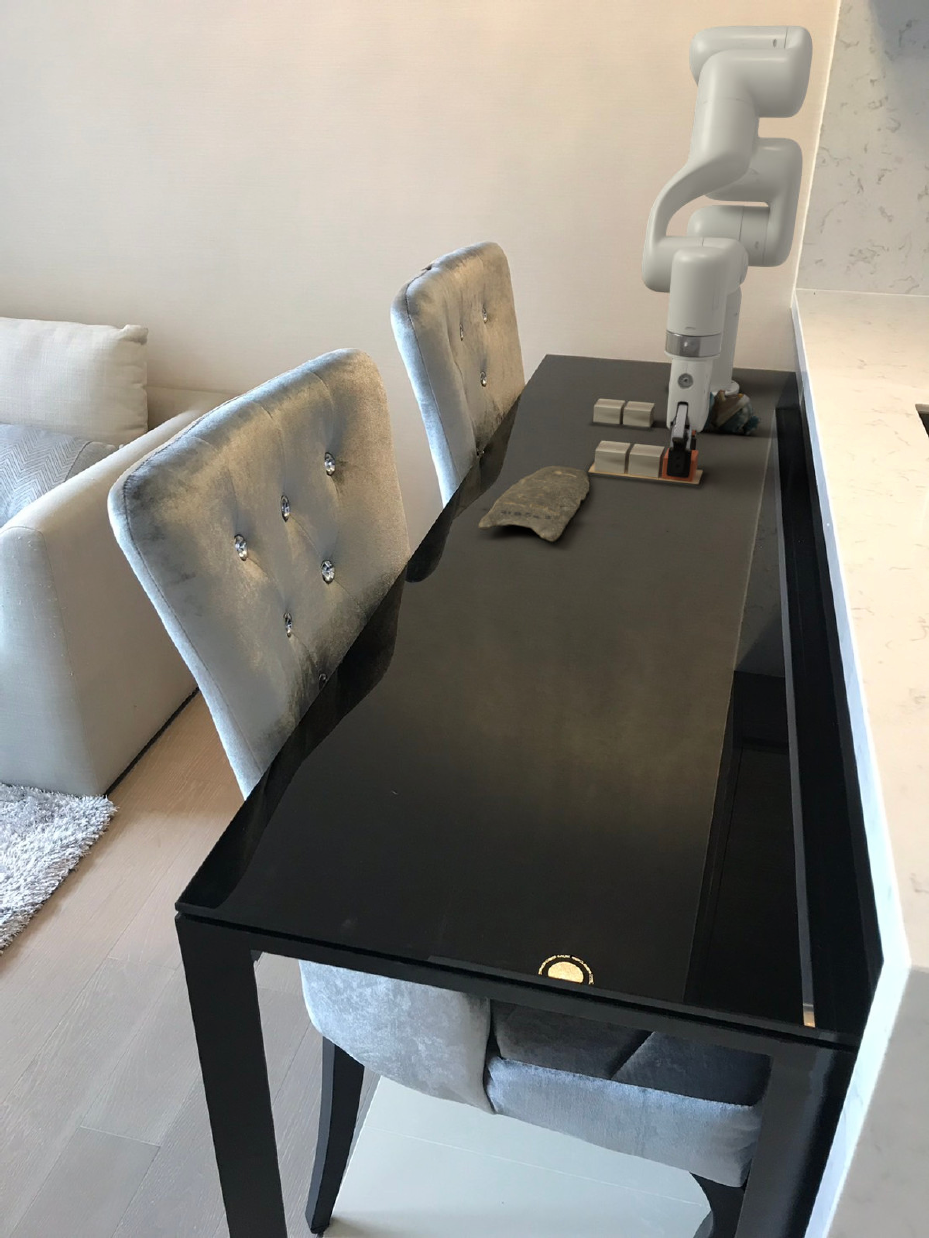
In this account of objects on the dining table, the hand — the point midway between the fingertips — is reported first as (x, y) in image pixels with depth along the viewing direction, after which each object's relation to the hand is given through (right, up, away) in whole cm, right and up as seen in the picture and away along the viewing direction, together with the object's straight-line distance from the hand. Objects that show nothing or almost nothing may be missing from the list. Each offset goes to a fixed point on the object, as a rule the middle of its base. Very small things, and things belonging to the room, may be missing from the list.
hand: (680, 468), depth 145 cm
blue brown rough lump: (+9, +9, +18) cm, 22 cm away
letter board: (-5, -1, +2) cm, 5 cm away
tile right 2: (-5, 0, +2) cm, 5 cm away
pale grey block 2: (-2, +11, +22) cm, 25 cm away
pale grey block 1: (-9, +1, +3) cm, 10 cm away
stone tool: (-21, -7, -8) cm, 23 cm away
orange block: (0, -1, 0) cm, 1 cm away
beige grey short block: (-7, +11, +23) cm, 27 cm away
